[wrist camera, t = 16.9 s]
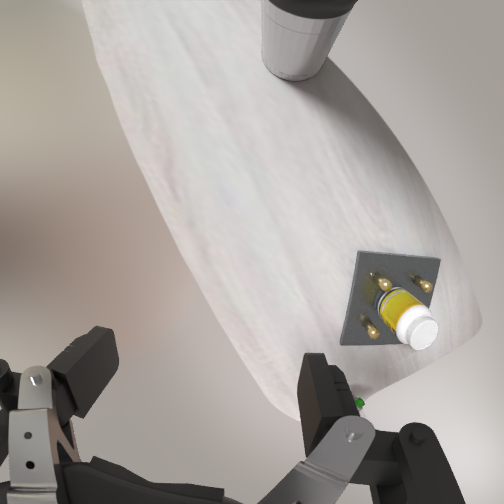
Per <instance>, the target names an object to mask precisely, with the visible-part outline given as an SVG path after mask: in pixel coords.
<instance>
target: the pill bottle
mask: <svg viewBox="0 0 504 504" xmlns="http://www.w3.org/2000/svg"><path fill="white" fill-rule="evenodd" d="M378 314H379V316H380V318H381V319H382V320H383V321H384V323H385V324H386V325H387V326H388V327H389V329H390V330H391V331H392V332H393V333H394V335H395V336H396V337H397V338H398V339H399V341H401V342H402V343H404V344H408V345H410V346H411V347H412V348H413V349H415V350H423V349H425V348H427V347H428V346H429V345H430V344H432V342H433V341H434V340H435V338H436V336H437V333H438V325H437V323H436V322H435V321H434V320H433V319H432V314H431V311H430V310H429V309H428V308H427V307H426V306H425V305H424V304H423V303H421V302H420V301H419V300H418V299H416V298H415V297H414V296H413V295H411V294H410V293H409V292H408V291H406V290H405V289H403V288H400V287H394V288H392V289H391V290H390V291H388V292H385V293H384V294H383V295H382V297H381V298H380V300H379V303H378Z"/></svg>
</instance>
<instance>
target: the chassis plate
mask: <svg viewBox="0 0 504 504" xmlns="http://www.w3.org/2000/svg"><path fill="white" fill-rule="evenodd" d="M440 261H441V259H439V258H433V257H423V256H413V255H402V254H391V253H380V252H369V251H358V253H357V259H356V265H355V271H354V277H353V282H352V288H351V293H350V298H349V303H348V308H347V312H346V317H345V321H344V326H343V330H342V334H341V338H340V345H385V344H404V343H402V342H401V341H399V339H398V338H397V337H396V336H395V335H394V333H393V332H392V331H391V330H390V329H389V327H388V326H387V325H386V324H385V323H384V321H383V320H382V319H381V318H380V316H379V314H378V303H379V300H380V298H381V297H382V295H383V294H384V293H385V292H388V291H390V290H391V289H392V288H394V287H400V288H403V289H405V290H406V291H408V292H409V293H410V294H411V295H413V296H414V297H415V298H416V299H418V300H419V301H420V302H421V303H423V304H424V305H425V306H426V307H427V308H428V309H429V306H430V302H431V299H432V295H433V291H434V287H435V283H436V279H437V275H438V270H439V266H440Z"/></svg>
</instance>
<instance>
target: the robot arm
mask: <svg viewBox="0 0 504 504" xmlns="http://www.w3.org/2000/svg"><path fill="white" fill-rule="evenodd" d="M261 1H262V59H263V62H264V64H265V66H266V67H267V68H268V70H269V71H270V72H272V73H273V74H274V75H276V76H278V77H280V78H283V79H285V80H290V81H301V80H306V79H309V78H311V77H313V76H314V75H316V74H317V73H318V72H319V70H320V68H321V67H322V65H323V63H324V61H325V59H326V57H327V55H328V53H329V51H330V49H331V47H332V46H333V44H334V42H335V40H336V38H337V36H338V34H339V32H340V31H341V29H342V27H343V25H344V23H345V21H346V19H347V17H348V15H349V13H350V11H351V10H352V8H353V6H354V4H355V3H356V2H357V1H358V0H261ZM118 366H119V357H118V352H117V347H116V342H115V336H114V332H113V330H112V329H109V328H104V327H100V326H95V327H94V328H93V329H92V330H91V331H89V332H88V333H87V334H85V335H82V336H81V337H78V338H76V339H75V340H74V341H73V342H72V343H71V344H70V345H69V346H67V347H66V348H65V350H64V351H62V352H61V353H60V354H59V355H58V356H57V357H56V358H55V359H54V360H53V361H52V362H51V363H50V364H49V365H48V366H47V367H43V366H33V367H30V368H28V369H26V370H25V371H24V372H23V373H15V372H11V370H10V368H9V365H8V363H7V362H6V361H5V360H3V359H0V406H1V408H2V409H1V410H0V466H1V465H2V463H3V461H4V460H5V458H6V457H7V455H8V454H9V470H10V481H7V482H2V483H0V504H242V503H240V502H238V501H236V500H233V499H231V498H228V497H225V496H224V489H223V488H214V487H206V486H200V485H194V484H174V483H173V484H172V483H153V482H149V481H147V480H145V479H143V478H142V477H140V476H138V475H136V474H134V473H133V472H131V471H129V470H127V469H126V468H124V467H122V466H120V465H117V464H114V463H111V462H108V461H106V460H103V459H101V458H98V457H96V456H93V458H92V460H91V462H90V463H88V462H82V461H81V459H80V456H79V453H78V448H77V444H76V439H75V434H74V429H73V423H72V421H71V419H70V418H71V417H72V415H75V416H78V417H80V418H84V417H85V416H86V414H87V413H88V411H89V410H90V408H91V407H92V405H93V404H94V403H95V401H96V400H97V398H98V397H99V395H100V394H101V392H102V391H103V390H104V388H105V387H106V385H107V384H108V383H109V381H110V380H111V378H112V377H113V376H114V374H115V373H116V371H117V369H118ZM297 397H298V404H299V411H300V418H301V425H302V432H303V440H304V447H305V454H306V457H307V459H306V460H305V461H304V462H302V461H301V462H299V463H298V464H297V465H296V466H295V467H294V468H293V469H292V470H291V471H290V472H289V473H288V474H287V475H286V476H285V477H284V478H283V479H282V480H281V481H280V482H279V483H278V484H277V485H276V486H275V488H273V489H272V490H271V491H270V492H269V493H268V494H267V495H266V496H265V497H264V498H263V499H262V500H261V501H260V502H259V503H258V504H335V503H336V501H337V500H338V498H339V497H340V496H341V494H342V493H343V491H344V490H345V488H346V487H347V485H348V483H354V484H364V485H369V486H370V491H371V496H372V501H373V504H465V501H464V498H463V496H462V494H461V491H460V489H459V486H458V483H457V481H456V479H455V477H454V474H453V472H452V470H451V467H450V465H449V463H448V461H447V458H446V456H445V454H444V452H443V450H442V448H441V446H440V443H439V441H438V439H437V437H436V435H435V433H434V432H433V430H432V429H431V428H430V427H428V426H427V425H425V424H422V423H415V422H414V423H409V424H406V425H405V426H403V427H402V428H401V430H400V432H399V433H398V432H386V431H379V430H376V429H375V428H374V426H373V425H372V423H371V422H369V421H368V420H367V419H365V418H363V417H360V414H359V411H358V409H357V406H356V404H355V401H354V398H353V396H352V393H351V391H350V388H349V385H348V383H347V380H346V378H345V375H344V373H343V372H342V371H341V370H340V369H339V368H338V367H337V366H336V365H328V363H327V360H326V358H325V355H324V353H305V354H304V357H303V362H302V366H301V371H300V376H299V380H298V387H297Z"/></svg>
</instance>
